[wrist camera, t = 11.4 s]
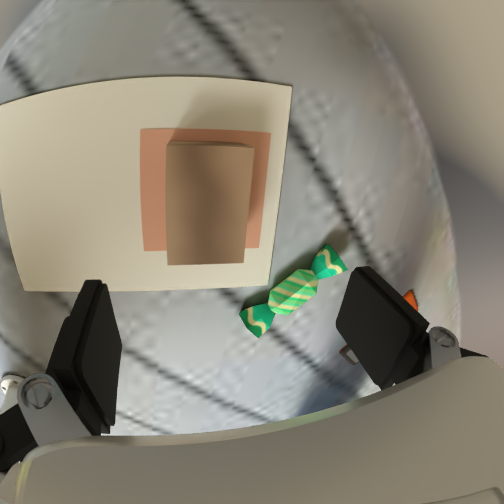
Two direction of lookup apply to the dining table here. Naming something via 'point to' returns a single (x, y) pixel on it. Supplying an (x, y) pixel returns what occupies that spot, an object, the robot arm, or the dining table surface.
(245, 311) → the candy
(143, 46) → the dining table surface
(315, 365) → the dining table surface
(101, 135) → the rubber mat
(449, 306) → the dining table surface
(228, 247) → the walnut card box
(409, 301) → the orange grey slab
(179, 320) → the dining table surface
